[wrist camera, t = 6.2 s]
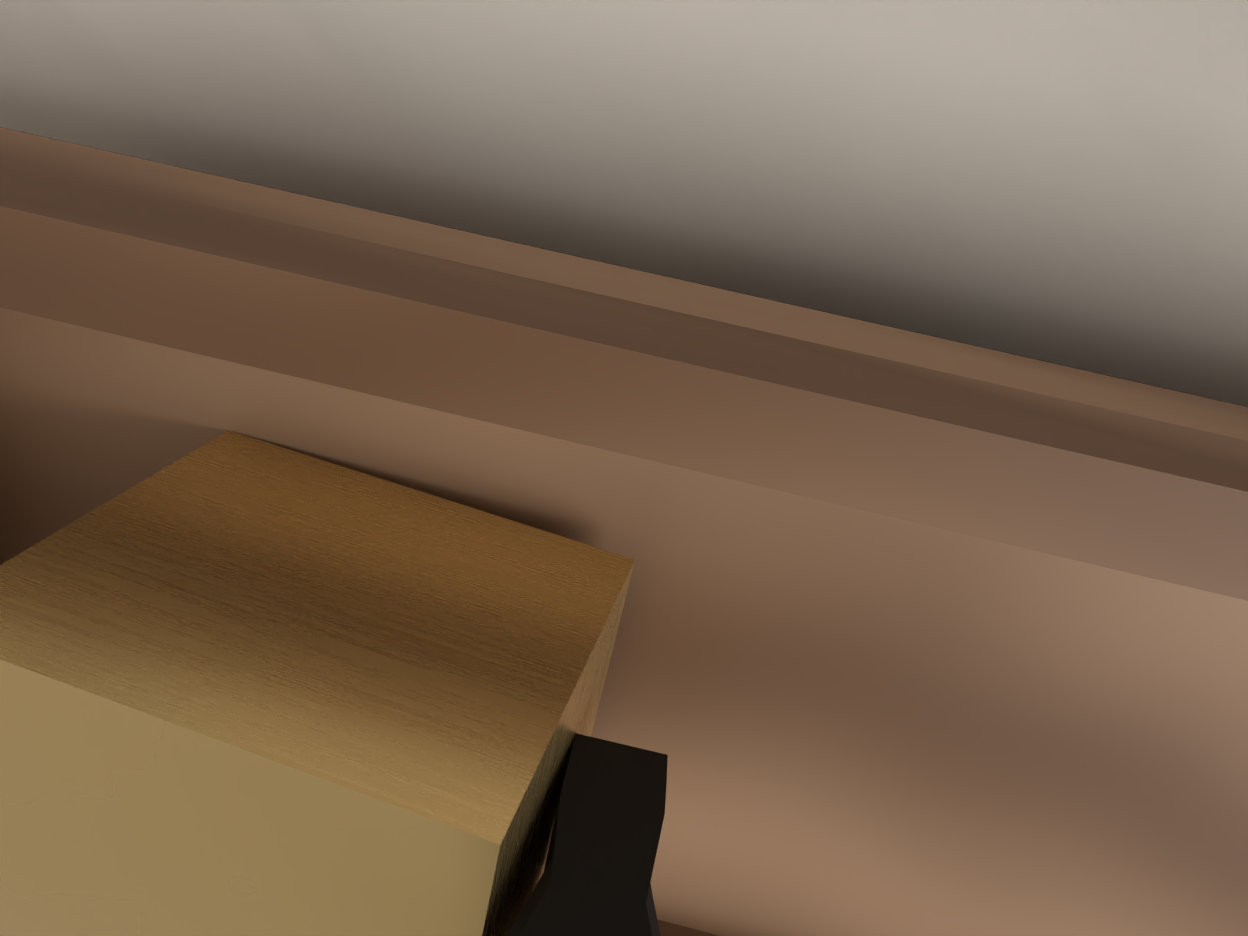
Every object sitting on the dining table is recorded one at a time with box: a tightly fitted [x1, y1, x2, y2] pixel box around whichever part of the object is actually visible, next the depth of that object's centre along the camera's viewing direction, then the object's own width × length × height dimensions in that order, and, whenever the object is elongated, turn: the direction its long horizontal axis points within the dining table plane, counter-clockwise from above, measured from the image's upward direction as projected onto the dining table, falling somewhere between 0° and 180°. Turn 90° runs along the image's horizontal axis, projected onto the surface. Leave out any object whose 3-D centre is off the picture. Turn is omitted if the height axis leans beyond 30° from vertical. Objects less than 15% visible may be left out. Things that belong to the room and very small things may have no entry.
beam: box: [0, 127, 1248, 936], centre depth 11 cm, size 10×28×3 cm, turn 79°
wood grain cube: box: [0, 430, 635, 936], centre depth 10 cm, size 5×5×4 cm
